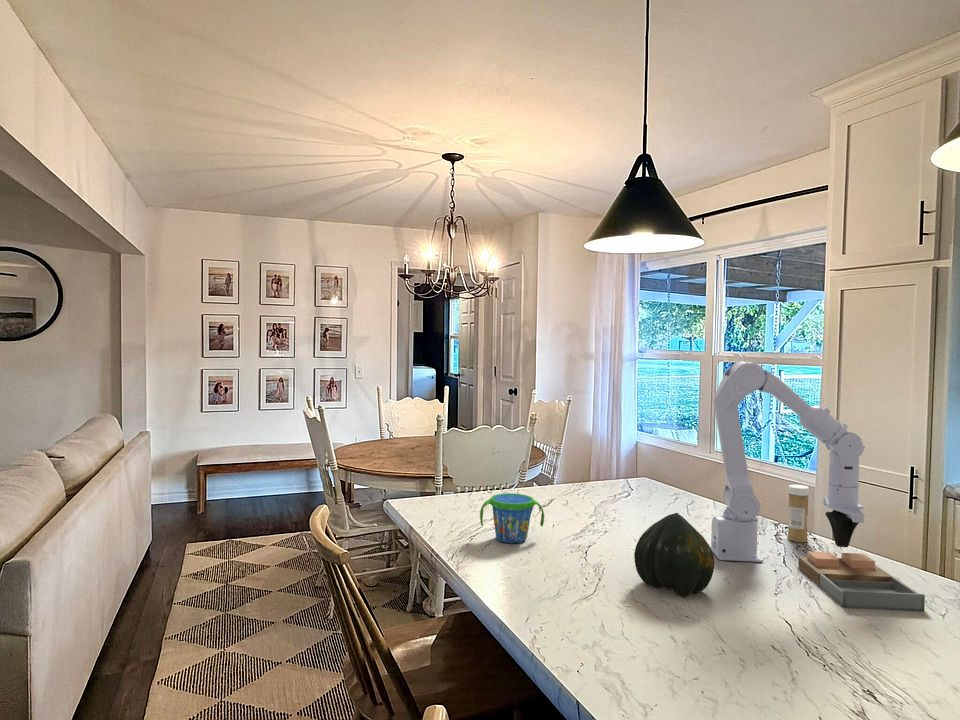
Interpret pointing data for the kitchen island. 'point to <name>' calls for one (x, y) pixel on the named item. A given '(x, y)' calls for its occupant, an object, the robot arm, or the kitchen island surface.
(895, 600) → the tray
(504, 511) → the snack cup
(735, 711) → the kitchen island surface
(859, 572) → the walnut board
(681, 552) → the squash
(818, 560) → the tile left
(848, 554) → the tile right
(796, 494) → the sprinkles bottle
